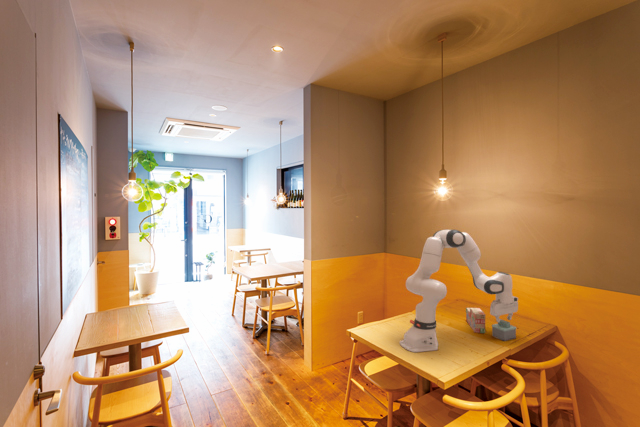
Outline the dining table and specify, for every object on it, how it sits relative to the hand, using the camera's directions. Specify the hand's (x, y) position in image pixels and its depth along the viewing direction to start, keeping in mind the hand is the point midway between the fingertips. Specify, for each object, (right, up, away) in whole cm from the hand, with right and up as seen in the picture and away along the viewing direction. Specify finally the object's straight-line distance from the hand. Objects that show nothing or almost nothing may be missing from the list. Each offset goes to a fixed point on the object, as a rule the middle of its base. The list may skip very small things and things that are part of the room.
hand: (503, 320), depth 191 cm
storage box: (0, -10, 0) cm, 10 cm away
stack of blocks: (-9, -10, +17) cm, 22 cm away
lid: (0, -5, 0) cm, 5 cm away
